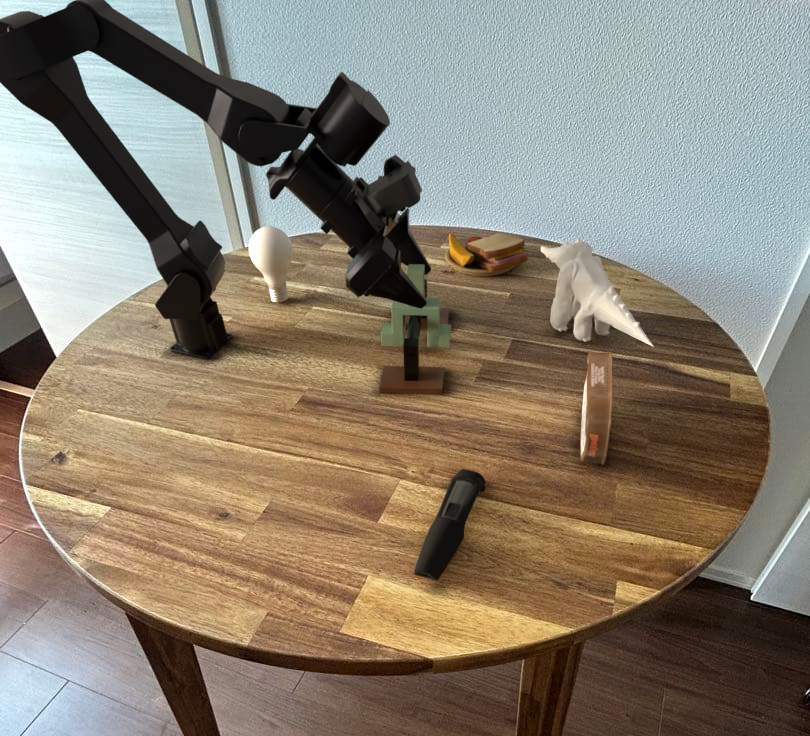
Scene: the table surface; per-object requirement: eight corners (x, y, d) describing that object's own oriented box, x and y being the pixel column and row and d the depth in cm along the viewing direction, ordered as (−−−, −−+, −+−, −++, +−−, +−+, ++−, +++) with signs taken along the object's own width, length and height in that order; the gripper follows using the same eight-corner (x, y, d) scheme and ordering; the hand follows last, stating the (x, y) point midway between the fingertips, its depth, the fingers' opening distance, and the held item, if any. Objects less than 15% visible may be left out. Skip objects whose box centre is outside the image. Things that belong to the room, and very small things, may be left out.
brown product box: (603, 480, 70) (619, 416, 64) (573, 477, 70) (586, 413, 64) (603, 400, 80) (617, 338, 74) (577, 397, 80) (589, 335, 74)
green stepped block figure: (381, 345, 87) (378, 273, 80) (383, 334, 89) (380, 262, 82) (449, 347, 87) (452, 274, 79) (450, 336, 89) (453, 263, 82)
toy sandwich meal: (499, 241, 113) (502, 212, 109) (537, 272, 104) (541, 242, 100) (433, 254, 110) (433, 225, 106) (466, 287, 101) (467, 257, 98)
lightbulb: (309, 297, 100) (298, 224, 92) (282, 315, 97) (269, 240, 89) (277, 288, 103) (264, 216, 95) (250, 305, 99) (235, 231, 91)
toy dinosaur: (553, 295, 98) (564, 219, 90) (666, 370, 84) (691, 287, 76) (516, 306, 96) (524, 229, 88) (624, 385, 82) (645, 302, 74)
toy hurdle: (379, 392, 82) (376, 351, 78) (395, 311, 97) (393, 273, 92) (442, 394, 82) (442, 353, 77) (448, 312, 96) (449, 274, 92)
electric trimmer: (403, 585, 61) (402, 563, 59) (455, 480, 71) (455, 457, 68) (441, 596, 60) (441, 574, 58) (488, 487, 70) (490, 465, 67)
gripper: (366, 168, 64) (472, 278, 72) (386, 115, 77) (474, 213, 84) (300, 248, 71) (404, 341, 78) (328, 187, 84) (415, 272, 91)
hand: (426, 288), depth 83 cm, fingers open, 9 cm apart
